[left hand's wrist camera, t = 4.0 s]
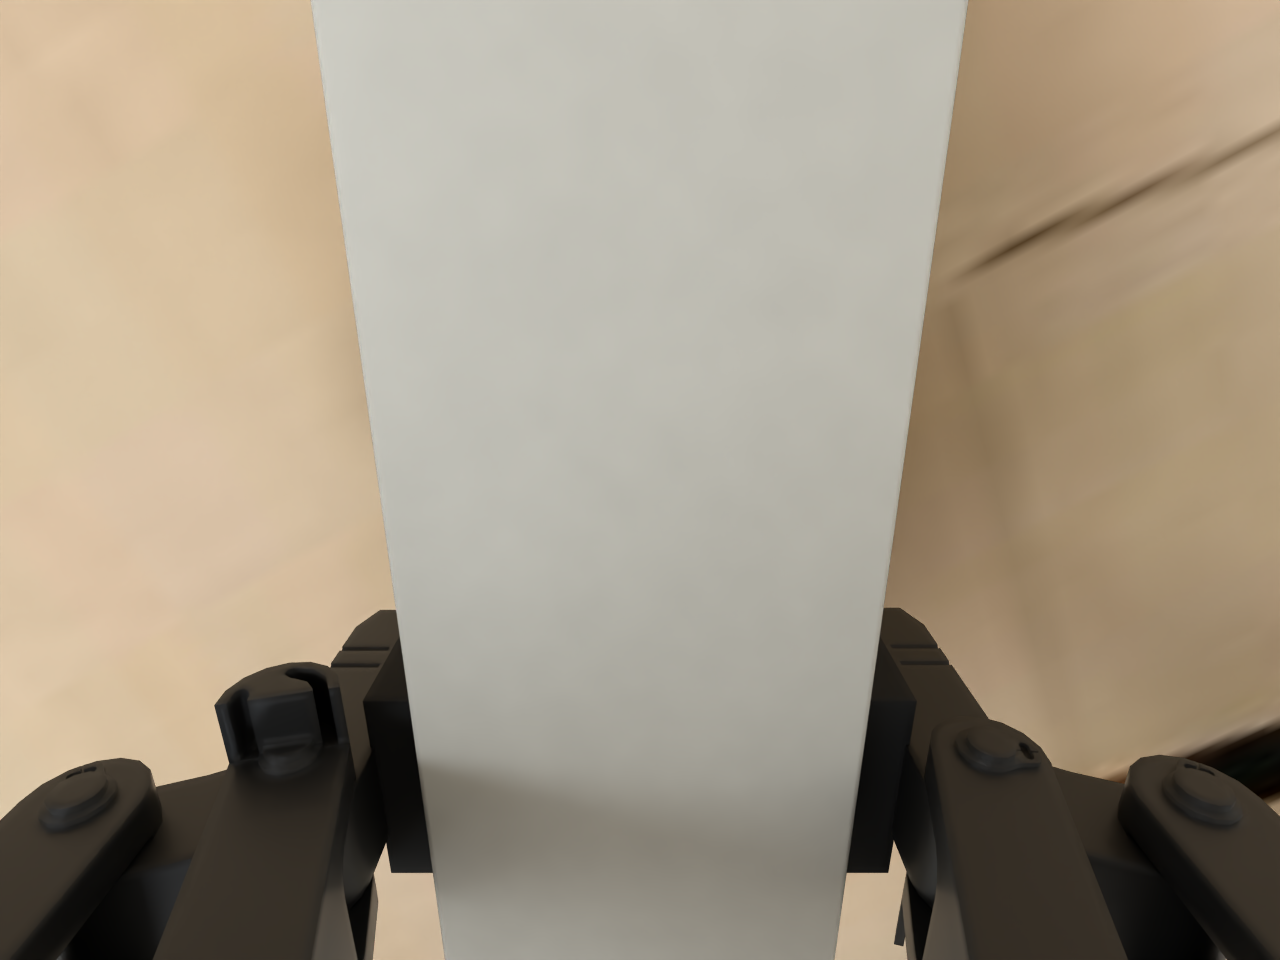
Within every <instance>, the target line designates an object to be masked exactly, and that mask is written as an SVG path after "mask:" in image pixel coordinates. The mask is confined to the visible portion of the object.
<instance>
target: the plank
mask: <svg viewBox="0 0 1280 960" xmlns="http://www.w3.org/2000/svg"><path fill="white" fill-rule="evenodd" d="M311 6H312V13H313V20H314V27H315V34H316V42H317V49H318V56H319V63H320V70H321V77H322V84H323V92H324V99H325V106H326V113H327V120H328V127H329V134H330V142H331V149H332V156H333V163H334V170H335V177H336V184H337V191H338V199H339V206H340V213H341V220H342V227H343V234H344V241H345V249H346V256H347V263H348V270H349V277H350V284H351V291H352V299H353V306H354V313H355V320H356V327H357V334H358V341H359V348H360V356H361V363H362V370H363V377H364V384H365V391H366V398H367V406H368V413H369V420H370V427H371V434H372V441H373V448H374V456H375V463H376V470H377V477H378V484H379V491H380V498H381V505H382V513H383V520H384V527H385V534H386V541H387V548H388V555H389V563H390V570H391V577H392V584H393V591H394V598H395V605H396V613H397V620H398V627H399V634H400V641H401V648H402V655H403V662H404V670H405V677H406V684H407V691H408V698H409V705H410V712H411V720H412V727H413V734H414V741H415V748H416V755H417V762H418V770H419V777H420V784H421V791H422V798H423V805H424V812H425V819H426V827H427V834H428V841H429V848H430V855H431V862H432V869H433V877H434V884H435V891H436V898H437V905H438V912H439V919H440V927H441V934H442V941H443V948H444V955H445V960H834V959H835V951H836V944H837V937H838V930H839V923H840V916H841V908H842V901H843V894H844V887H845V880H846V873H847V865H848V858H849V851H850V844H851V837H852V830H853V823H854V815H855V808H856V801H857V794H858V787H859V780H860V772H861V765H862V758H863V751H864V744H865V737H866V730H867V722H868V715H869V708H870V701H871V694H872V687H873V679H874V672H875V665H876V658H877V651H878V644H879V636H880V629H881V622H882V615H883V608H884V601H885V594H886V586H887V579H888V572H889V565H890V558H891V551H892V543H893V536H894V529H895V522H896V515H897V508H898V501H899V493H900V486H901V479H902V472H903V465H904V458H905V450H906V443H907V436H908V429H909V422H910V415H911V408H912V400H913V393H914V386H915V379H916V372H917V365H918V357H919V350H920V343H921V336H922V329H923V322H924V314H925V307H926V300H927V293H928V286H929V279H930V272H931V264H932V257H933V250H934V243H935V236H936V229H937V221H938V214H939V207H940V200H941V193H942V186H943V179H944V171H945V164H946V157H947V150H948V143H949V136H950V128H951V121H952V114H953V107H954V100H955V93H956V85H957V78H958V71H959V64H960V57H961V50H962V43H963V35H964V28H965V21H966V14H967V7H968V0H311Z"/></svg>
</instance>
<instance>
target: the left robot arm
mask: <svg viewBox="0 0 1280 960" xmlns="http://www.w3.org/2000/svg"><path fill="white" fill-rule="evenodd" d="M214 706H215V710H216V714H217V718H218V721H219V725H220V729H221V733H222V737H223V741H224V745H225V748H226V752H227V756H228V760H229V766H228V768H227V770H224V771H221V772H217V773H214V774H211V775H207V776H202V777H198V778H193V779H189V780H185V781H180V782H176V783H171V784H167V785H162V786H158V787H156V786H155V783H154V780H153V777H152V773H151V770H150V769H149V768H148V767H147V766H145V765H144V764H143V763H142V762H141V761H138V760H131V759H124V758H117V759H109V760H102V761H96V762H93V763H90V764H86V765H84V766H80V767H77V768H74V769H72V770H69V771H67V772H65V773H63V774H61V775H59V776H57V777H55V778H54V779H52V780H50V781H48V782H46V783H44V784H42V785H41V786H39V787H38V788H37V789H36V790H34V791H33V792H32V793H30V794H29V795H28V796H27V797H25V798H24V799H23V800H21V801H20V802H19V803H18V804H17V805H16V806H15V807H14V808H13V809H12V810H11V811H10V812H9V813H8V814H7V815H5V816H4V817H3V818H2V819H1V820H0V960H373V951H374V940H375V930H376V920H377V909H378V896H377V890H376V884H375V878H374V871H375V869H376V866H377V864H378V861H379V859H380V856H381V854H382V851H383V849H384V846H385V844H387V850H388V856H389V861H390V867H391V873H433V869H432V862H431V855H430V848H429V841H428V834H427V827H426V819H425V812H424V805H423V798H422V791H421V784H420V777H419V770H418V762H417V755H416V748H415V741H414V734H413V727H412V720H411V712H410V705H409V698H408V691H407V684H406V677H405V670H404V662H403V655H402V648H401V641H400V634H399V627H398V620H397V613H396V610H379V611H378V612H377V613H375V614H374V615H372V616H371V617H370V618H368V619H367V620H365V621H364V622H362V623H361V624H360V625H358V626H357V627H356V628H355V629H354V631H353V632H352V634H351V635H350V637H349V638H348V639H347V641H346V642H345V644H344V645H343V647H342V651H339V653H338V654H337V656H336V657H335V658H334V660H333V661H332V663H331V668H329V667H328V666H325V665H321V664H317V663H313V662H299V663H287V664H282V665H278V666H274V667H270V668H266V669H263V670H261V671H259V672H256V673H254V674H252V675H250V676H247V677H245V678H243V679H242V680H240V681H239V682H237V683H236V684H235V685H233V686H232V687H230V688H229V689H228V690H226V691H225V692H224V694H223V695H222V696H221V697H220V699H219V700H218V701H217V703H216V704H215V705H214ZM893 841H895V844H896V846H897V849H898V851H899V854H900V856H901V859H902V861H903V864H904V866H905V869H906V871H907V873H906V878H905V884H904V889H903V895H902V900H901V906H900V911H899V917H898V922H897V928H896V935H895V941H894V944H896V945H900V946H903V945H904V940H905V939H906V949H907V959H908V960H1226V959H1227V960H1280V816H1279V815H1278V814H1277V813H1276V812H1274V811H1273V810H1272V809H1271V808H1270V807H1269V806H1268V805H1267V804H1266V803H1265V802H1264V801H1263V800H1262V799H1261V798H1260V797H1258V796H1257V795H1256V794H1254V793H1253V792H1252V791H1250V790H1249V789H1248V788H1247V787H1245V786H1244V785H1243V784H1241V783H1240V782H1239V781H1237V780H1235V779H1233V778H1231V777H1229V776H1227V775H1225V774H1223V773H1222V772H1220V771H1218V770H1216V769H1214V768H1212V767H1209V766H1206V765H1204V764H1201V763H1197V762H1195V761H1191V760H1188V759H1185V758H1179V757H1172V756H1164V755H1156V756H1149V757H1142V758H1140V759H1139V760H1137V761H1136V762H1135V763H1134V764H1132V765H1131V766H1130V768H1129V771H1128V775H1127V778H1126V781H1125V784H1122V783H1118V782H1113V781H1109V780H1104V779H1100V778H1095V777H1091V776H1086V775H1082V774H1077V773H1073V772H1069V771H1066V770H1062V769H1059V768H1055V767H1052V764H1051V762H1050V761H1049V759H1048V758H1047V756H1046V755H1045V753H1044V752H1043V750H1042V749H1041V747H1040V746H1038V745H1037V744H1036V743H1035V742H1033V741H1032V740H1031V739H1030V738H1028V737H1027V736H1026V735H1025V734H1023V733H1022V732H1020V731H1018V730H1016V729H1014V728H1011V727H1009V726H1007V725H1005V724H1003V723H1001V722H997V721H993V720H990V719H988V717H987V716H986V714H985V713H984V711H983V710H982V708H981V707H980V705H979V704H978V703H977V701H976V700H975V698H974V697H973V695H972V694H971V692H970V691H969V690H968V688H967V687H966V685H965V684H964V682H963V681H962V679H961V678H960V676H959V675H958V674H957V672H956V671H955V669H954V668H953V666H952V665H949V660H948V659H947V658H946V656H945V655H944V653H943V652H942V650H941V649H940V648H938V647H937V643H936V642H935V640H934V639H933V637H932V636H931V634H930V633H929V631H928V630H927V629H926V627H925V626H924V625H923V624H922V623H921V622H919V621H918V620H916V619H915V618H913V617H912V616H911V615H909V614H908V613H906V612H905V611H904V610H902V609H901V608H883V615H882V622H881V629H880V636H879V644H878V651H877V658H876V665H875V672H874V679H873V687H872V694H871V701H870V708H869V715H868V722H867V730H866V737H865V744H864V751H863V758H862V765H861V772H860V780H859V787H858V794H857V801H856V808H855V815H854V823H853V830H852V837H851V844H850V851H849V858H848V865H847V873H888V871H889V865H890V859H891V853H892V847H893Z"/></svg>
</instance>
